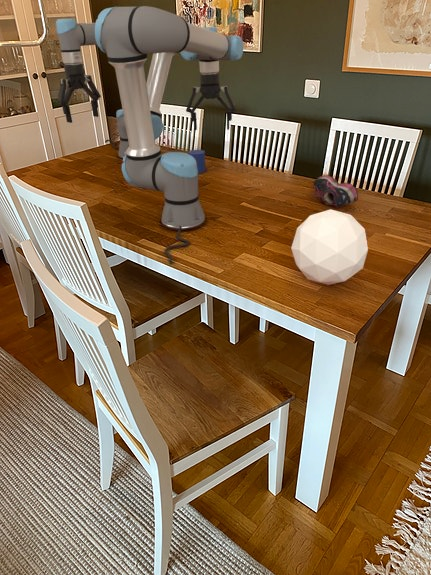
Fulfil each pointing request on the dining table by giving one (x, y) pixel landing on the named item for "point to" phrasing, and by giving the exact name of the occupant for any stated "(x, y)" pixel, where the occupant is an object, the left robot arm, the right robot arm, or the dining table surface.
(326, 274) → the sphere
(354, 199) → the athletic shoe
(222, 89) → the right robot arm
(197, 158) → the canister
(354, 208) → the dining table surface
